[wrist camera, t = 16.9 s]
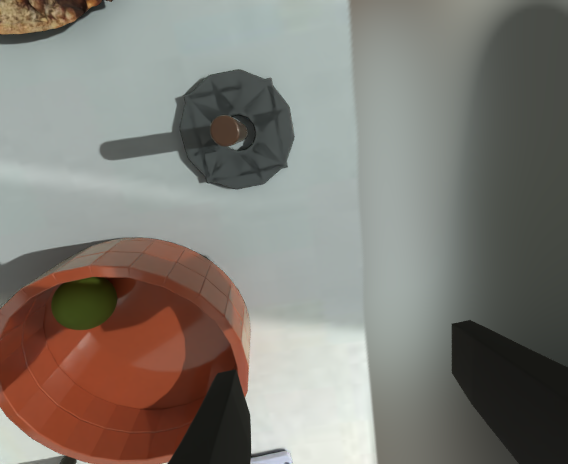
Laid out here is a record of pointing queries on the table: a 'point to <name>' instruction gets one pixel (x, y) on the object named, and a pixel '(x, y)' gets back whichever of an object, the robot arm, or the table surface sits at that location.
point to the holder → (233, 101)
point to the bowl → (122, 353)
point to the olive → (84, 303)
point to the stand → (68, 460)
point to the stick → (227, 131)
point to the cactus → (40, 14)
